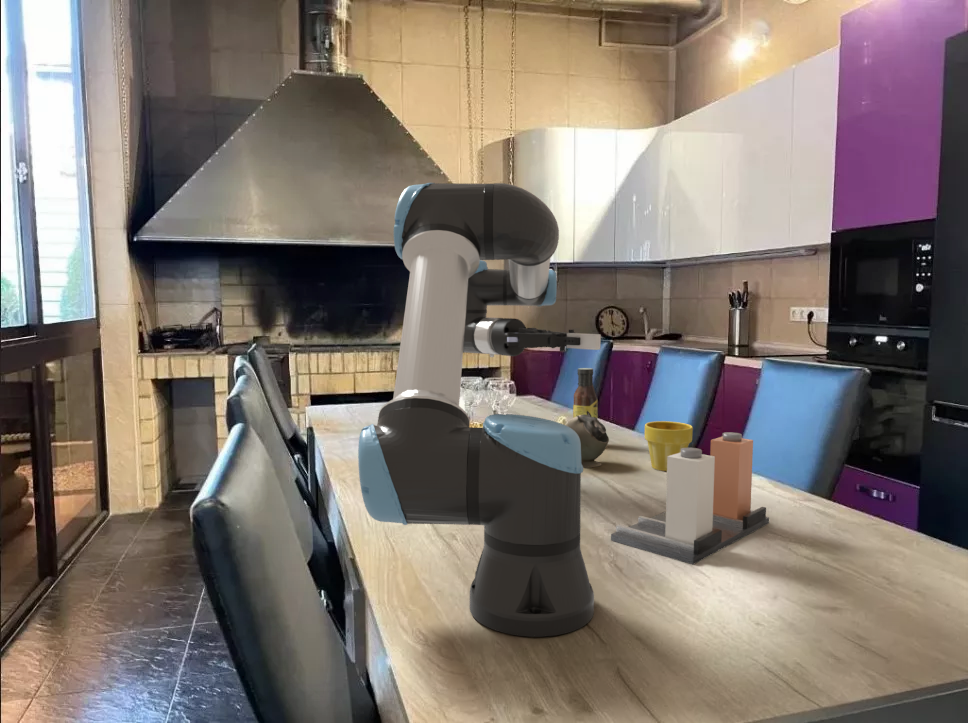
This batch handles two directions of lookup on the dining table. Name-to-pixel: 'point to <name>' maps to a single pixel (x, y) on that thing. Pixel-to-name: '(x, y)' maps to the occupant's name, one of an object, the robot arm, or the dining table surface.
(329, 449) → the dining table surface
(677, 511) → the white square bottle
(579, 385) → the sauce bottle
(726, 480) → the orange square bottle
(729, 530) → the dark grey divided tray
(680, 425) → the plant pot
